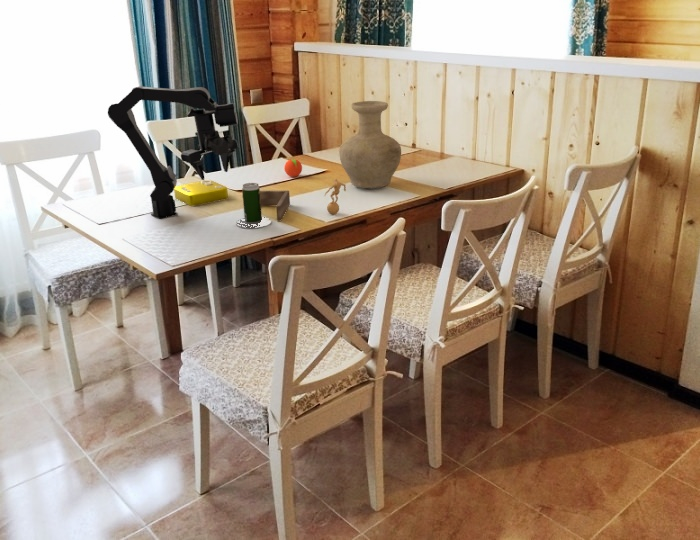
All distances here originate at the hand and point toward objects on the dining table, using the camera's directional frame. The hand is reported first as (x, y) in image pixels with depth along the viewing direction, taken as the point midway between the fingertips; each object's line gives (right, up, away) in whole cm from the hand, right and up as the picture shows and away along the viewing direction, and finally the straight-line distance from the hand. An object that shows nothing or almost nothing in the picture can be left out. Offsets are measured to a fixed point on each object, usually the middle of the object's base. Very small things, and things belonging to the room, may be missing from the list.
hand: (214, 175), depth 224 cm
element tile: (-9, -6, +21) cm, 23 cm away
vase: (+52, 0, +29) cm, 60 cm away
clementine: (+22, +5, +44) cm, 50 cm away
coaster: (+14, -16, -7) cm, 22 cm away
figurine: (+39, -13, -1) cm, 41 cm away
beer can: (+14, -16, -7) cm, 22 cm away
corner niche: (+16, -12, +3) cm, 20 cm away
